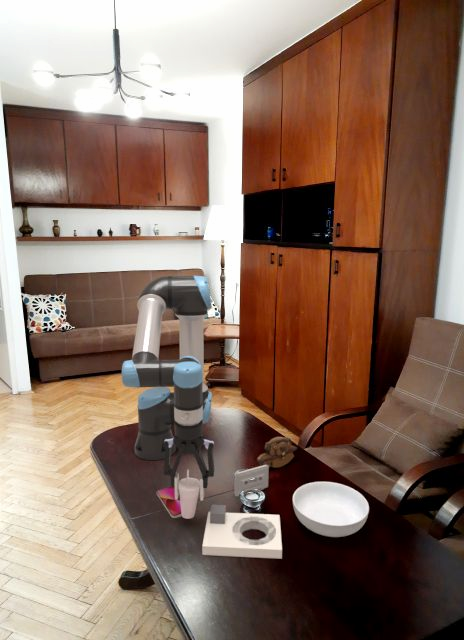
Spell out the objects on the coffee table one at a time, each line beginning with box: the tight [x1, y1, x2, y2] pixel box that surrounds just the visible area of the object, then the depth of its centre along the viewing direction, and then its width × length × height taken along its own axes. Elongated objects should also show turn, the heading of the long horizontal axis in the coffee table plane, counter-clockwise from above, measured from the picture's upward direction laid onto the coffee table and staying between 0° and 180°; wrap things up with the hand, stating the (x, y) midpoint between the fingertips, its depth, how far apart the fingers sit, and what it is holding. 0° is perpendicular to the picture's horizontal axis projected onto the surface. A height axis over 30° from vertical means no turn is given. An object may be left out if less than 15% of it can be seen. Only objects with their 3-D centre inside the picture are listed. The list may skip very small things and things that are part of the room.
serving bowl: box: [292, 481, 370, 538], centre depth 125 cm, size 21×21×7 cm
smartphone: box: [155, 486, 182, 519], centre depth 135 cm, size 7×1×15 cm
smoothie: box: [178, 468, 200, 520], centre depth 124 cm, size 6×6×14 cm
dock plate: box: [201, 504, 283, 560], centre depth 119 cm, size 14×20×6 cm
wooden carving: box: [256, 436, 298, 468], centre depth 155 cm, size 16×5×10 cm, turn 128°
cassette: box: [233, 464, 270, 497], centre depth 140 cm, size 12×2×8 cm, turn 118°
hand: (189, 496), depth 124 cm, fingers closed on smoothie, 6 cm apart
